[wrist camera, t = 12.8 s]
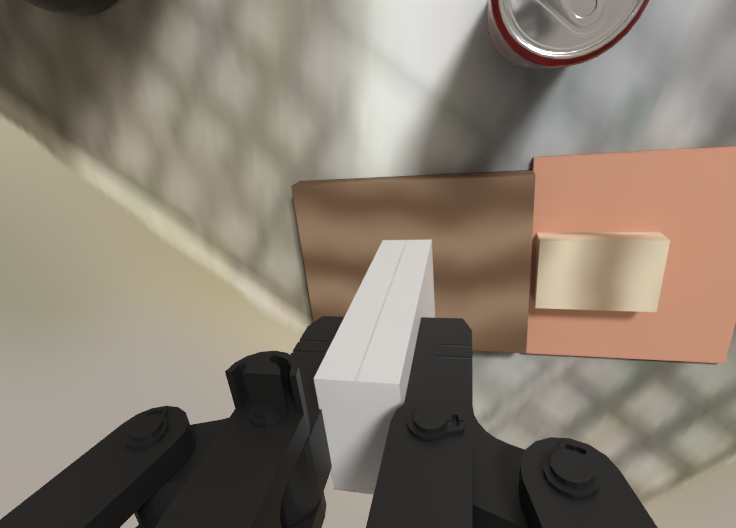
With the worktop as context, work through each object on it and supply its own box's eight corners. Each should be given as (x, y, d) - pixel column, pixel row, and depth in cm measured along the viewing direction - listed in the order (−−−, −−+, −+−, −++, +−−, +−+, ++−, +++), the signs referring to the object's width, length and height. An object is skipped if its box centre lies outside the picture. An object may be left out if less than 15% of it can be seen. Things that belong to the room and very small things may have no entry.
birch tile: (532, 297, 38) (535, 308, 36) (536, 232, 36) (539, 241, 34) (647, 300, 36) (656, 312, 34) (660, 232, 34) (670, 240, 32)
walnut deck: (299, 181, 40) (291, 186, 38) (532, 170, 35) (535, 175, 33) (323, 331, 46) (316, 342, 44) (524, 341, 41) (526, 353, 39)
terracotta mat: (533, 157, 34) (534, 158, 34) (777, 143, 30) (781, 145, 30) (523, 350, 41) (524, 353, 41) (721, 360, 37) (724, 363, 37)
